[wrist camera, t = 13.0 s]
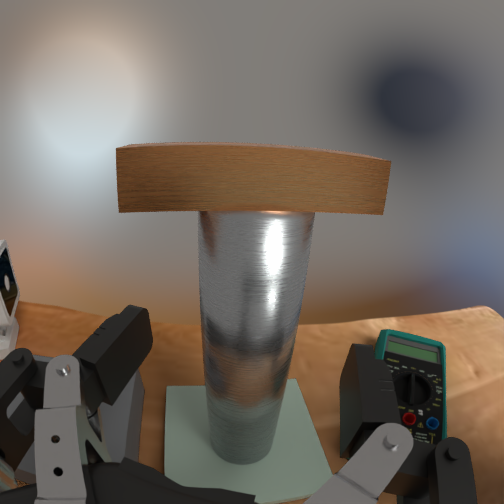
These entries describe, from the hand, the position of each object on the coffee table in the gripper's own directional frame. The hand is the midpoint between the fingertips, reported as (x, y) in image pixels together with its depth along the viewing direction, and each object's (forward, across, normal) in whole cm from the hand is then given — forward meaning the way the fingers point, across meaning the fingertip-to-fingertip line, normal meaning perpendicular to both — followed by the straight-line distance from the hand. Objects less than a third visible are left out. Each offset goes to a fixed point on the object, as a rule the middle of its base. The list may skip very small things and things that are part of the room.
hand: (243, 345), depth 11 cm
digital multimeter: (+7, -12, +11) cm, 18 cm away
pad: (+2, 0, +11) cm, 11 cm away
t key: (+2, 0, +10) cm, 10 cm away
